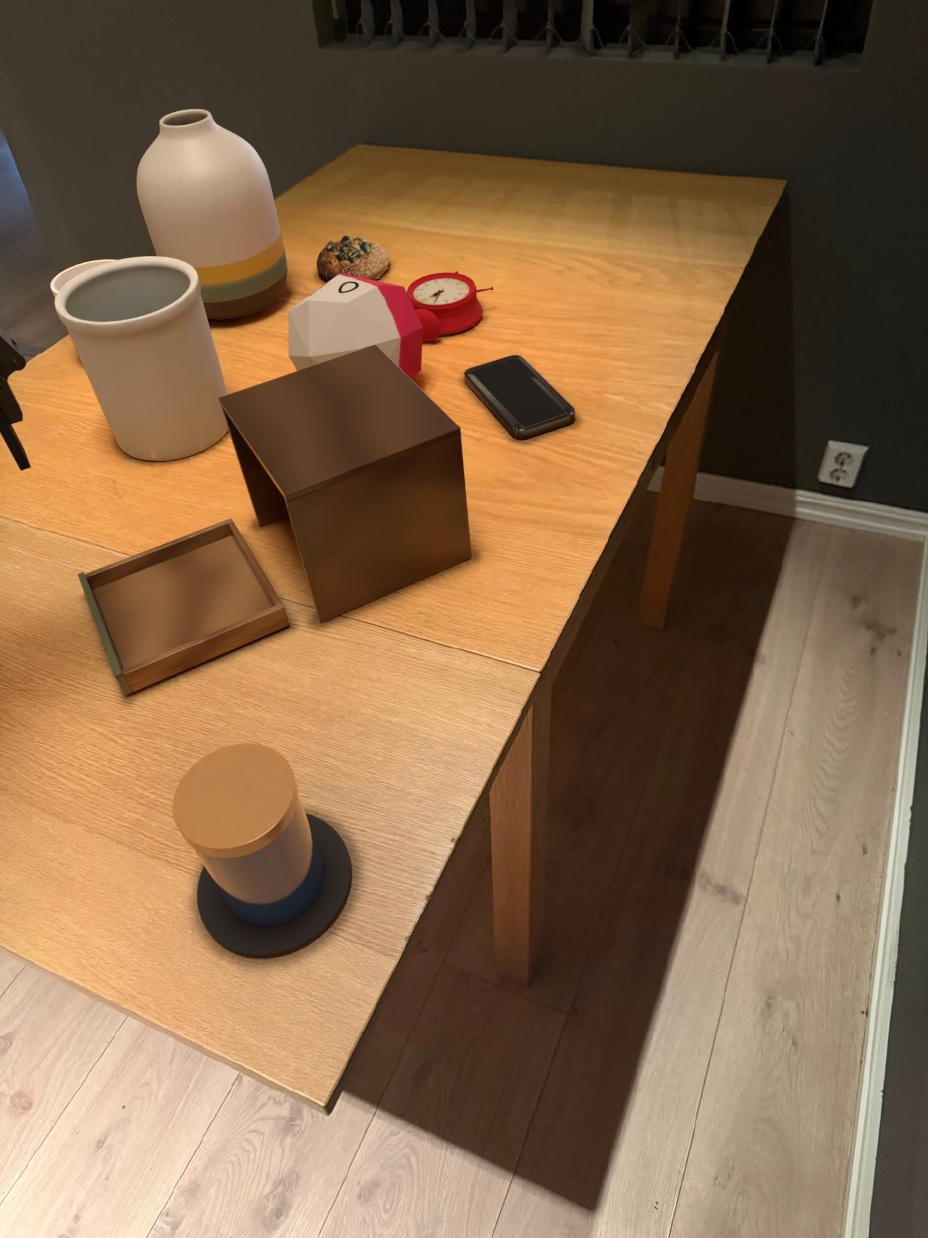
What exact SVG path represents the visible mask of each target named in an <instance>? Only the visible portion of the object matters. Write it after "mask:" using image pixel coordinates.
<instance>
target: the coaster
mask: <svg viewBox="0 0 928 1238" xmlns="http://www.w3.org/2000/svg"><path fill="white" fill-rule="evenodd" d="M305 814H306V816H307V819H308V822H309V824H310V827H311V830H312V832H313V835H314V837H315V840H316V843H317V845H318V848H319V850H320V853H321V856H322V859H323V862H324V880H323V884H322V887H321V890H320V892H319V894H318V896H317V897H316V899H315V900H314V902H313V903H312V904H311V905H310V906H309V908H308V909H307V910H306V911H304V912H303V913H302V914H301V915H299V916H298V917H296V918H295V919H293V920H291V921H289V922H286V923H283V924H280V925H276V926H269V927H261V926H254V925H251V924H248V923H246V922H243V921H242V920H240V919H239V918H237V917H236V916H235V915H234V914H233V913H232V911H231V910H230V909H229V907H228V905H227V903H226V902H225V900H224V898H223V897H222V895H221V893H220V892H219V890H218V888H217V886H216V885H215V883H214V881H213V880H212V878H211V876H210V875H209V873H208V871H207V869H206V868H205V866H204V865H203V867H202V870H201V872H200V875H199V879H198V882H197V890H196V904H197V910H198V913H199V916H200V919H201V921H202V923H203V925H204V927H205V929H206V931H207V932H208V933H209V935H210V936H211V937H212V938H213V939H214V940H215V942H217V943H218V944H219V945H220V946H222V947H223V948H225V949H226V950H228V951H230V952H232V953H234V954H236V955H241V956H243V957H249V958H255V959H257V958H258V959H266V958H267V959H268V958H276V957H280V956H284V955H288V954H290V953H294V952H297V951H299V950H300V949H302V948H304V947H306V946H308V945H309V944H311V943H312V942H314V941H315V940H317V939H318V938H320V936H322V935H323V934H324V933H325V932H326V931H328V929H329V928H330V927H331V926H332V925H333V924H334V923H335V921H336V919H337V918H338V917H339V916H340V914H341V912H342V910H343V908H344V906H345V905H346V903H347V899H348V897H349V893H350V890H351V887H352V878H353V872H352V871H353V869H352V868H353V867H352V861H351V857H350V854H349V851H348V848H347V845H346V844H345V842H344V840H343V838H342V837H341V835H340V834H339V833H338V831H337V830H336V829H334V827H333V826H331V824H329V823H328V822H326V821H325V820H323V819H321V818H319V817H317V816H315V815H312V814H310V813H306V812H305Z"/></svg>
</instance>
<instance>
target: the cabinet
mask: <svg viewBox="0 0 928 1238" xmlns="http://www.w3.org/2000/svg"><path fill="white" fill-rule="evenodd" d="M219 402H220V404H221V408H222V411H223V414H224V417H225V421H226V424H227V427H228V433H229V437H230V439H231V443H232V446H233V449H234V453H235V456H236V459H237V462H238V465H239V468H240V471H241V474H242V478H243V482H244V484H245V488H246V490H247V495H248V497H249V500H250V504H251V506H252V509H253V513H254V515H255V519H256V523H257V524H258V526H259V527H262V526H264V525H267V524H270V523H272V522H275V521H278V520H280V519H282V518H285V517H288V516H289V520H290V524H291V528H292V531H293V535H294V537H295V542H296V546H297V549H298V553H299V557H300V560H301V563H302V567H303V571H304V574H305V577H306V581H307V585H308V588H309V592H310V596H311V600H312V602H313V607H314V610H315V613H316V618H317V620H318V621H319V623H320V624H322V623H325V622H327V621H329V620H331V619H334V618H336V617H339V616H341V615H344V614H346V613H347V612H350V611H353V610H355V609H356V608H359V607H361V606H364V605H366V604H368V603H371V602H373V601H375V600H377V599H380V598H382V597H385V596H387V595H389V594H392V593H394V592H396V591H398V590H401V589H403V588H406V587H407V586H410V585H413V584H414V583H417V582H419V581H421V580H424V579H426V578H429V577H431V576H434V575H436V574H438V573H440V572H442V571H444V570H447V569H450V568H451V567H454V566H456V565H458V564H461V563H463V562H465V561H467V560H470V559H472V558H473V556H472V545H471V535H470V523H469V512H468V511H469V510H468V499H467V498H468V497H467V489H466V488H467V487H466V477H465V465H464V454H463V443H462V430H461V427H460V425H458V424H457V423H456V422H455V421H454V419H452V418H451V417H450V416H449V415H448V413H446V412H445V411H444V410H443V409H442V408H441V407H440V406H439V405H438V404H437V403H436V402H435V401H434V400H433V399H432V398H431V397H430V396H429V395H428V394H427V393H426V392H425V391H424V390H423V389H422V388H421V387H420V386H419V385H418V384H417V383H416V382H415V381H414V380H413V379H410V378H409V377H408V376H407V375H406V374H405V373H404V372H403V371H402V370H401V369H400V368H399V367H398V366H397V365H396V364H395V363H394V362H393V361H392V360H391V359H390V358H389V357H388V356H387V355H386V354H385V353H384V352H383V351H382V350H381V349H380V348H379V347H378V346H377V345H373V346H370V347H367V348H364V349H361V350H358V351H355V352H352V353H349V354H346V355H343V356H340V357H337V358H334V359H331V360H328V361H326V362H323V363H320V364H317V365H314V366H311V367H308V368H305V369H302V370H299V371H297V370H295V371H294V372H293V371H292V372H290V373H288V374H283V375H282V376H279V377H276V378H273V379H270V380H267V381H263V382H261V383H258V384H255V385H252V386H249V387H246V388H243V389H241V390H238V391H235V392H232V393H229V394H227V395H226V396H223V397H220V398H219Z"/></svg>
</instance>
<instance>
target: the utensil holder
mask: <svg viewBox="0 0 928 1238" xmlns="http://www.w3.org/2000/svg"><path fill="white" fill-rule="evenodd" d="M115 260H116V261H112V262H108V263H105V264H102V265H99V266H96V267H94V268H91V269H89V270H87V271H85V272H83V273H81V274H79V275H77V276H75V277H74V278H72V279H71V280H70V281H68V282H67V283H66V284H65V285H64V286H63V287H62V288H61V289H60V290H59V292H58V293H57V295H56V298H55V297H54V307H55V311H56V313H57V316H58V318H59V320H60V322H61V323H62V324H63V325H64V326H65V327H66V331H67V332H68V334H69V337H70V339H71V342H72V344H73V347H74V349H75V352H76V353H77V356H78V358H79V360H80V362H81V365H82V367H83V369H84V372H85V374H86V377H87V379H88V381H89V383H90V385H91V388H92V390H93V392H94V395H95V397H96V399H97V402H98V404H99V406H100V409H101V411H102V413H103V415H104V418H105V420H106V422H107V424H108V426H109V428H110V430H111V433H112V435H113V437H114V439H115V441H116V443H117V445H118V447H119V448H120V449H121V450H122V452H124V453H125V454H127V456H130V457H131V458H135V459H139V460H141V461H142V460H143V461H150V462H164V461H165V462H167V461H174V460H179V459H183V458H184V459H185V458H187V457H190V456H193V455H196V454H199V453H201V452H203V451H205V450H207V449H208V448H210V447H212V446H213V445H215V444H217V442H219V441H220V440H221V439H222V438H223V437H224V436H225V435H226V434H227V432H229V430H228V427H227V424H226V421H225V417H224V414H223V411H222V408H221V404H220V402H219V398H220V397H223V396H226V395H228V392H227V386H226V383H225V379H224V375H223V371H222V367H221V363H220V360H219V356H218V352H217V348H216V345H215V342H214V338H213V335H212V331H211V328H210V323H209V319H207V316H206V312H205V308H204V305H203V301H202V298H201V294H200V291H201V286H200V281H199V277H198V274H197V272H196V270H195V269H194V268H193V267H192V266H191V265H189V264H188V263H186V262H184V261H181V260H178V259H174V258H169V257H160V256H157V255H156V256H152V255H151V256H149V255H147V256H135V257H126V258H121V259H115Z"/></svg>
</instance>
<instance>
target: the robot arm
mask: <svg viewBox="0 0 928 1238" xmlns="http://www.w3.org/2000/svg"><path fill="white" fill-rule="evenodd" d="M26 367H27V361H26V358H25V355H24V353H23V350H22V348H21V346H20V344H19V343H18V341H16V340H15V338H13V337H12V336H11V335H9V334H8V333H7V332H6V330H4V329H3V328H2V327H1V326H0V436H1V437H2V439H3V440H4V442H5V444H6V446H7V448H8V450H9V452H10V454H11V456H12V458H13V460H14V461H15V463H16V465H17V467H18V469H19V470H20V471H21V472H22V471H24V470H28V469H30V468H32V466H31V464H30V461H29V457H28V455H27V452H26V450H25V448H24V446H23V444H22V442H21V440H20V438H19V435H18V434H17V432H16V431H15V428H14V427H13V425H14V424H17V423H20V422H23V421H24V414H23V411H22V407H21V405H20V403H19V401H18V400H17V397H16V396H15V393H14V390H12V387H11V385H10V383H9V382H8V380H9V378H10V376H11V375H12V374H13V373H15V372H20V371H22V370H24V369H25V368H26Z"/></svg>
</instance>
